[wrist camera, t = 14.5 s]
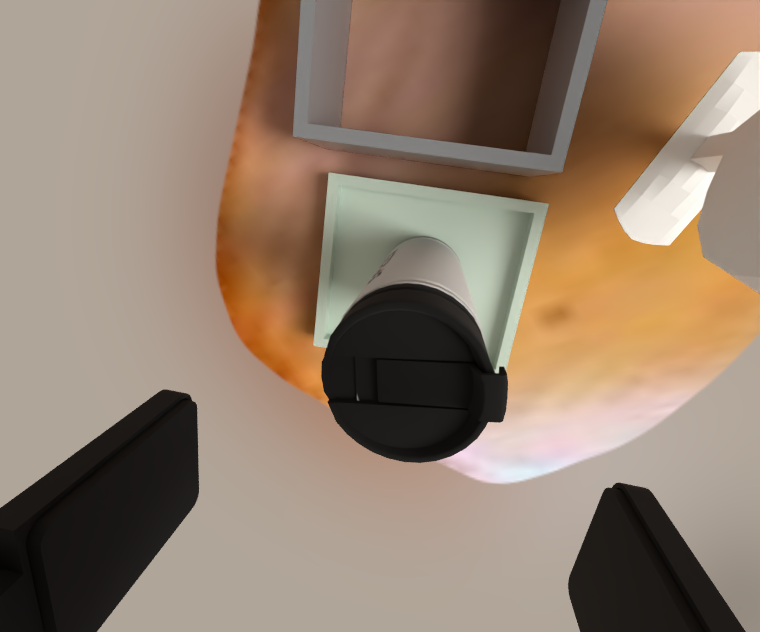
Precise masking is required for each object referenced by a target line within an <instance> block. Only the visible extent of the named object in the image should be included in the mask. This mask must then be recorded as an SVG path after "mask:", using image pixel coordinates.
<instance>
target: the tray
mask: <svg viewBox="0 0 760 632" xmlns="http://www.w3.org/2000/svg"><path fill="white" fill-rule="evenodd" d="M548 206H549V204H548V203H541V202H534V201H527V200H520V199H513V198H506V197H499V196H492V195H484V194H477V193H470V192H463V191H456V190H449V189H442V188H435V187H428V186H421V185H414V184H407V183H400V182H393V181H386V180H379V179H372V178H364V177H357V176H350V175H343V174H336V173H329V175H328V186H327V197H326V209H325V220H324V231H323V243H322V254H321V265H320V277H319V288H318V299H317V311H316V322H315V333H314V345H313V346H318V347H324V348H327V345H328V342H329V338H330V336H331V334H332V333H333V332H334V330H335V329H336V327H337V326H338V325H339V323H340V322H341V320H342V318H343V316H344V314H345V313H346V311H347V310H348V309H349V307H350V306H351V305H352V303H353V302H354V301H355V299H356V298H357V297H358V295H359V294H360V293H361V291H362V290H363V289H364V287H365V286H366V285H367V283H368V282H369V281H370V279H371V278H372V277H373V275H374V274H375V272H376V271H377V270H378V268H379V267H380V266H381V264H382V263H383V262H384V260H385V259H386V258H387V256H388V255H389V254H390V252H391V251H392V250H393V249H394V248H395V247H396V246H397V245H398V244H399V243H401V242H403V241H405V240H406V239H409V238H412V237H418V236H428V237H433V238H436V239H439V240H441V241H443V242H445V243H446V244H447V245H448V246H449V247H451V248H452V250H453V251H454V252H455V253H456V255H457V257H458V259H459V261H460V264H461V267H462V270H463V273H464V276H465V279H466V282H467V286H468V289H469V292H470V295H471V298H472V301H473V304H474V307H475V310H476V313H477V316H478V319H479V322H480V326H481V328H482V332H483V335H484V339H485V342H486V349H487V353H488V356H489V359H490V362H491V364H492V367H493V369H494V371H495V373H499V367H500V366H501V367H505V370H506V368H507V364H508V360H509V356H510V352H511V348H512V345H513V341H514V337H515V333H516V329H517V325H518V321H519V318H520V314H521V310H522V306H523V302H524V298H525V294H526V291H527V287H528V283H529V279H530V275H531V271H532V267H533V264H534V260H535V256H536V252H537V248H538V244H539V240H540V237H541V233H542V229H543V225H544V221H545V217H546V214H547V210H548Z"/></svg>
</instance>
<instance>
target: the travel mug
mask: <svg viewBox="0 0 760 632" xmlns="http://www.w3.org/2000/svg"><path fill="white" fill-rule="evenodd" d="M324 356H325V357H324V359H323V361H322V382H323V388H324V392H325V394H326V395H327V397H328V398H329V401H328V404H329V406H330V408H331V411H332V413H333V415H334V417H335V420H336V422H337V423H338V424H339V425H340V426H341V427H342V429H343V430H344V431H345V432H346V433H347V434H348V435H349V436H350V437H351V438H353V439H354V440H355V441H356V442H357V443H359V444H360V445H362V446H364V447H365V448H367V449H369V450H370V451H372V452H374V453H376V454H379V455H381V456H384V457H386V458H389V459H394V460H399V461H403V462H418V463H421V462H430V461H437V460H440V459H444V458H447V457H450V456H452V455H454V454H456V453H458V452H460V451H462V450H463V449H465V448H466V447H468V446H469V445H470V444H471V443H472V442H473V441H475V440H476V439H477V438H478V437H479V435H480V434H481V432H482V431H483V430H484V428H485V427H486V425H487V423H488V422H502V421H503V419H504V415H505V412H506V404H507V391H508V379H507V373H506V370H505V367H501V366H500V367H499V373H495V371H494V369H493V367H492V364H491V362H490V359H489V356H488V353H487V349H486V342H485V339H484V335H483V332H482V328H481V326H480V322H479V319H478V316H477V313H476V310H475V307H474V304H473V301H472V298H471V295H470V292H469V289H468V286H467V282H466V279H465V276H464V273H463V270H462V267H461V264H460V261H459V259H458V257H457V255H456V253H455V252H454V251H453V250H452V248H451V247H449V246H448V245H447V244H446V243H445V242H443V241H441V240H439V239H436V238H433V237H428V236H418V237H412V238H409V239H406V240H405V241H403V242H401V243H399V244H398V245H397V246H396V247H395V248H394V249H393V250H392V251H391V252H390V254H389V255H388V256H387V258H386V259H385V260H384V262H383V263H382V264H381V266H380V267H379V268H378V270H377V271H376V272H375V274H374V275H373V277H372V278H371V279H370V281H369V282H368V283H367V285H366V286H365V287H364V289H363V290H362V291H361V293H360V294H359V295H358V297H357V298H356V299H355V301H354V302H353V303H352V305H351V306H350V307H349V309H348V310H347V311H346V313H345V314H344V316H343V318H342V320H341V322H340V323H339V325H338V326H337V327H336V329H335V330H334V332H333V333H332V334H331V336H330V338H329V342H328V345H327V348H326V352H325V355H324Z"/></svg>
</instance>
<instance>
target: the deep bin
mask: <svg viewBox="0 0 760 632" xmlns="http://www.w3.org/2000/svg"><path fill="white" fill-rule="evenodd" d="M606 4H607V0H561V2H560V6H559V11H558V15H557V19H556V24H555V28H554V32H553V36H552V41H551V45H550V49H549V54H548V58H547V62H546V67H545V71H544V75H543V79H542V84H541V88H540V92H539V97H538V101H537V105H536V110H535V114H534V118H533V123H532V127H531V131H530V135H529V140H528V144H527V148H526V152H522V151H515V150H507V149H499V148H492V147H484V146H476V145H469V144H461V143H453V142H446V141H438V140H430V139H423V138H415V137H408V136H400V135H392V134H385V133H377V132H369V131H362V130H354V129H346V128H340V125H341V115H342V104H343V93H344V83H345V72H346V61H347V51H348V40H349V29H350V19H351V8H352V0H301V6H300V23H299V40H298V56H297V73H296V90H295V107H294V123H293V137H296V138H299V139H301V140H304V141H307V142H310V143H312V144H315V145H318V146H321V147H323V148H326V149H330V150H337V151H345V152H352V153H359V154H367V155H374V156H381V157H389V158H396V159H403V160H411V161H418V162H425V163H433V164H440V165H447V166H455V167H462V168H469V169H477V170H484V171H491V172H499V173H506V174H513V175H521V176H528V177H534V176H541V175H548V174H555V173H562V171H563V167H564V164H565V160H566V156H567V152H568V148H569V145H570V141H571V137H572V133H573V129H574V126H575V122H576V118H577V114H578V110H579V107H580V103H581V99H582V95H583V91H584V88H585V84H586V80H587V76H588V72H589V69H590V65H591V61H592V57H593V53H594V50H595V46H596V42H597V38H598V34H599V31H600V27H601V23H602V19H603V15H604V12H605V8H606Z"/></svg>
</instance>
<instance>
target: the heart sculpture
mask: <svg viewBox="0 0 760 632" xmlns="http://www.w3.org/2000/svg"><path fill="white" fill-rule="evenodd" d="M701 209H702V211H701V215H700V218H699V222H698V225H697V226H698V232H699V237H700V242H701V248H702V253H703V257H704V258H706V259H707V260H709V261H710V262H712V263H713V264H715V265H716V266H718V267H719V268H721V269H722V270H724V271H725V272H727V273H728V274H730V275H731V276H733V277H734V278H736V279H737V280H739V281H741V282H742V283H744V284H745V285H747V286H748V287H750V288H751V289H753V290H754V291H756V292H757V293H759V294H760V52H739V54H738V55H737V56H736V57H735V59H734V60H733V61H732V62H731V64H730V65H729V66H728V67H727V69H726V70H725V71H724V72H723V74H722V75H721V76H720V77H719V79H718V80H717V81H716V82H715V84H714V85H713V86H712V87H711V89H710V90H709V91H708V92H707V93H706V95H705V96H704V97H703V98H702V100H701V101H700V102H699V103H698V105H697V106H696V107H695V108H694V110H693V111H692V112H691V113H690V115H689V116H688V117H687V118H686V120H685V121H684V122H683V123H682V125H681V126H680V127H679V128H678V130H677V131H676V132H675V133H674V135H673V136H672V137H671V138H670V140H669V141H668V142H667V143H666V145H665V146H664V147H663V148H662V150H661V151H660V152H659V153H658V155H657V156H656V157H655V158H654V160H653V161H652V162H651V163H650V165H649V166H648V167H647V168H646V170H645V171H644V172H643V173H642V175H641V176H640V177H639V178H638V180H637V181H636V182H635V183H634V185H633V186H632V187H631V188H630V190H629V191H628V192H627V193H626V195H625V196H624V197H623V198H622V200H621V201H620V202H619V203H618V205H617V206H616V207H615V208H614V210H615V213H616V215H617V218H618V220H619V222H620V224H621V226H622V227H623V229H624V231H625V232H626V233H627V234H628V236H629V237H630V238H631V239H633V240H636V241H638V242H641V243H647V244H654V245H670V244H671V243H672V242H673V240H674V239H675V238H676V237H677V236H678V235H679V234H680V233H681V231H682V230H683V229H684V228H685V227H686V226H687V225H688V224H689V222H690V221H691V220H692V219H693V218H694V217H695V216H696V214H697V213H698V212H699V211H700V210H701Z"/></svg>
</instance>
